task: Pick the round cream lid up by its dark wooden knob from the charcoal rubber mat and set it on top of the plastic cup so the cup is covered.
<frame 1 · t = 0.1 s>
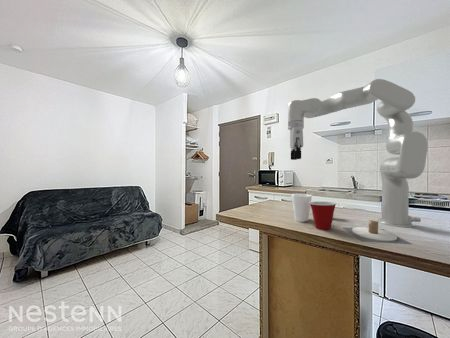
hand: (295, 159, 99), 31 cm above the table, tool pointing down, fingers open, 9 cm apart
mat: (373, 236, 77), on the table
foam cup: (301, 220, 99), on the table
lid: (373, 234, 77), point 1 cm above the table, touching mat
plastic cup: (322, 229, 85), on the table
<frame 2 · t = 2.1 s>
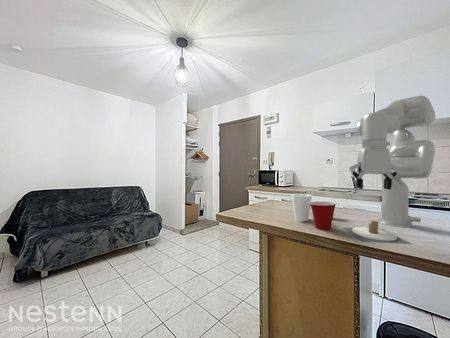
hand: (373, 188, 76), 19 cm above the table, tool pointing down, fingers open, 9 cm apart
nothing on the table moved.
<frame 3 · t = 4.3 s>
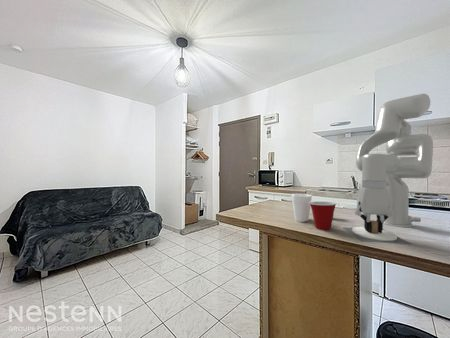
hand: (373, 231, 77), 2 cm above the table, tool pointing down, fingers closed on lid, 3 cm apart
lid: (373, 234, 77), point 1 cm above the table, touching gripper
everything else where it was.
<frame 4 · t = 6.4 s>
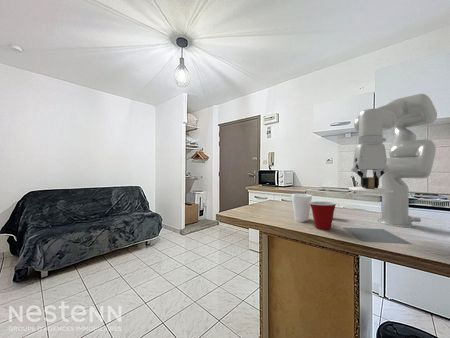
hand: (369, 187, 77), 19 cm above the table, tool pointing down, fingers closed on lid, 3 cm apart
lid: (369, 190, 77), point 18 cm above the table, touching gripper
everything else where it was.
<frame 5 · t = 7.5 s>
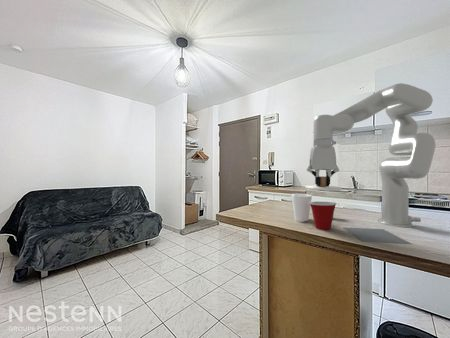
hand: (322, 185, 85), 19 cm above the table, tool pointing down, fingers closed on lid, 3 cm apart
lid: (322, 188, 85), point 18 cm above the table, touching gripper
everything else where it was.
when the fingers open (15 cm above the table, at t = 8.4 s): lid drops 2 cm, resting on plastic cup.
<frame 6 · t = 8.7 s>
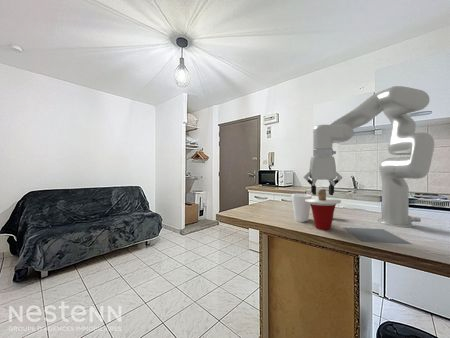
hand: (322, 194, 85), 15 cm above the table, tool pointing down, fingers open, 6 cm apart
lid: (322, 201, 85), point 12 cm above the table, touching plastic cup
plastic cup: (322, 229, 85), on the table, touching lid
everything else where it was.
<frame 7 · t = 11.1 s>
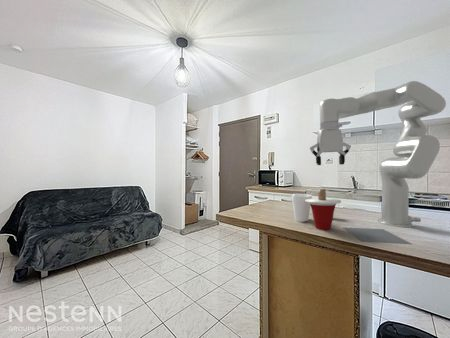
hand: (330, 164, 89), 28 cm above the table, tool pointing down, fingers open, 9 cm apart
nothing on the table moved.
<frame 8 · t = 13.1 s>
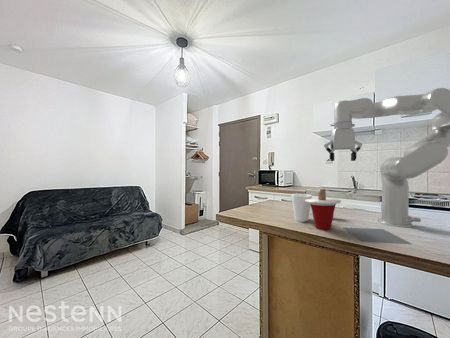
hand: (342, 160, 97), 30 cm above the table, tool pointing down, fingers open, 9 cm apart
nothing on the table moved.
at the end: lid 0.1 cm off-centre on the plastic cup, point 12.2 cm above the plastic cup's base; plastic cup tilted 0°; lid touching plastic cup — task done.
